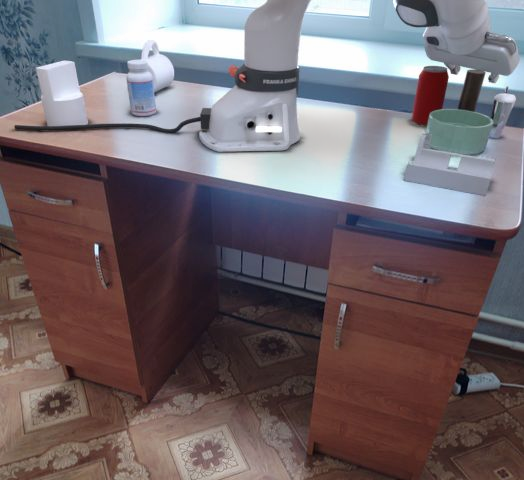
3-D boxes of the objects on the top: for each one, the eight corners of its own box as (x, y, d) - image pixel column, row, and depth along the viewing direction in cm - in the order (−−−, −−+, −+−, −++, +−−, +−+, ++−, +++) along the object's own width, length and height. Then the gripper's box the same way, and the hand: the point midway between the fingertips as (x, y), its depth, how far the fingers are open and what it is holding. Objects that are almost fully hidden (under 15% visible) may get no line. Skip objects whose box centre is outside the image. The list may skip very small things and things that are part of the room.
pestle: (458, 133, 119) (474, 74, 111) (446, 127, 122) (460, 69, 114) (475, 131, 120) (492, 73, 112) (462, 125, 124) (478, 68, 116)
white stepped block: (66, 115, 121) (54, 58, 113) (96, 121, 118) (86, 63, 110) (38, 125, 114) (23, 66, 106) (69, 132, 112) (56, 71, 104)
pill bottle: (161, 112, 124) (156, 61, 117) (144, 118, 121) (138, 65, 113) (143, 108, 127) (137, 57, 120) (125, 113, 123) (118, 61, 116)
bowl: (445, 159, 105) (453, 129, 102) (411, 139, 115) (417, 111, 111) (497, 153, 109) (506, 124, 105) (460, 134, 118) (467, 107, 114)
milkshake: (503, 133, 120) (518, 87, 113) (503, 140, 116) (519, 93, 110) (483, 130, 121) (497, 85, 114) (483, 137, 117) (497, 90, 111)
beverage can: (436, 119, 126) (447, 65, 119) (441, 127, 121) (453, 71, 113) (409, 118, 127) (418, 64, 119) (412, 126, 122) (422, 70, 114)
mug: (130, 93, 137) (124, 42, 129) (149, 85, 144) (144, 36, 136) (158, 97, 135) (153, 45, 127) (175, 88, 142) (172, 39, 134)
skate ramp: (403, 180, 96) (409, 153, 93) (416, 158, 105) (422, 133, 102) (485, 196, 92) (494, 168, 88) (491, 171, 101) (500, 145, 98)
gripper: (524, 23, 97) (526, 72, 109) (431, 9, 108) (443, 55, 120) (505, 52, 98) (510, 98, 109) (415, 35, 108) (428, 79, 120)
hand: (474, 76), depth 115 cm, fingers open, 8 cm apart
